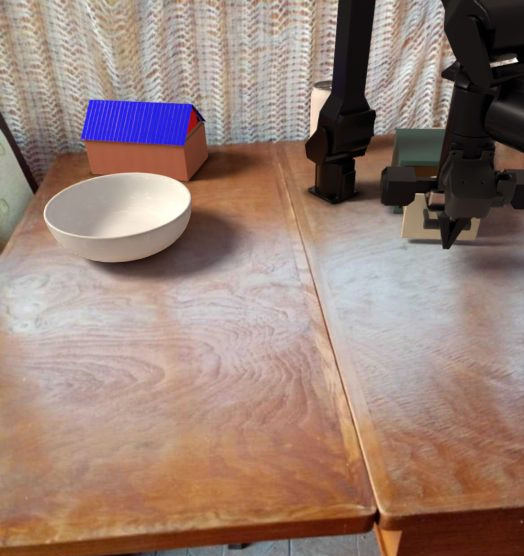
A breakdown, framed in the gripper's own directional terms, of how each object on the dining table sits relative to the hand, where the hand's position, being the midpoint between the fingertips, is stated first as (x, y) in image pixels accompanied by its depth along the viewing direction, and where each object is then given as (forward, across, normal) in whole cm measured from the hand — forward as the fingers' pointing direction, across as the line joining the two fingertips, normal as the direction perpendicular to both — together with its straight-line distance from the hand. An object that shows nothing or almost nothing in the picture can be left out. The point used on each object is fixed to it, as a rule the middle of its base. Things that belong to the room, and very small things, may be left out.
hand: (445, 247), depth 72 cm
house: (+4, -51, +32) cm, 60 cm away
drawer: (+2, 0, +10) cm, 10 cm away
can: (+4, -18, +42) cm, 45 cm away
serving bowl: (+4, -46, +3) cm, 46 cm away
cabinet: (+3, 0, +22) cm, 23 cm away
